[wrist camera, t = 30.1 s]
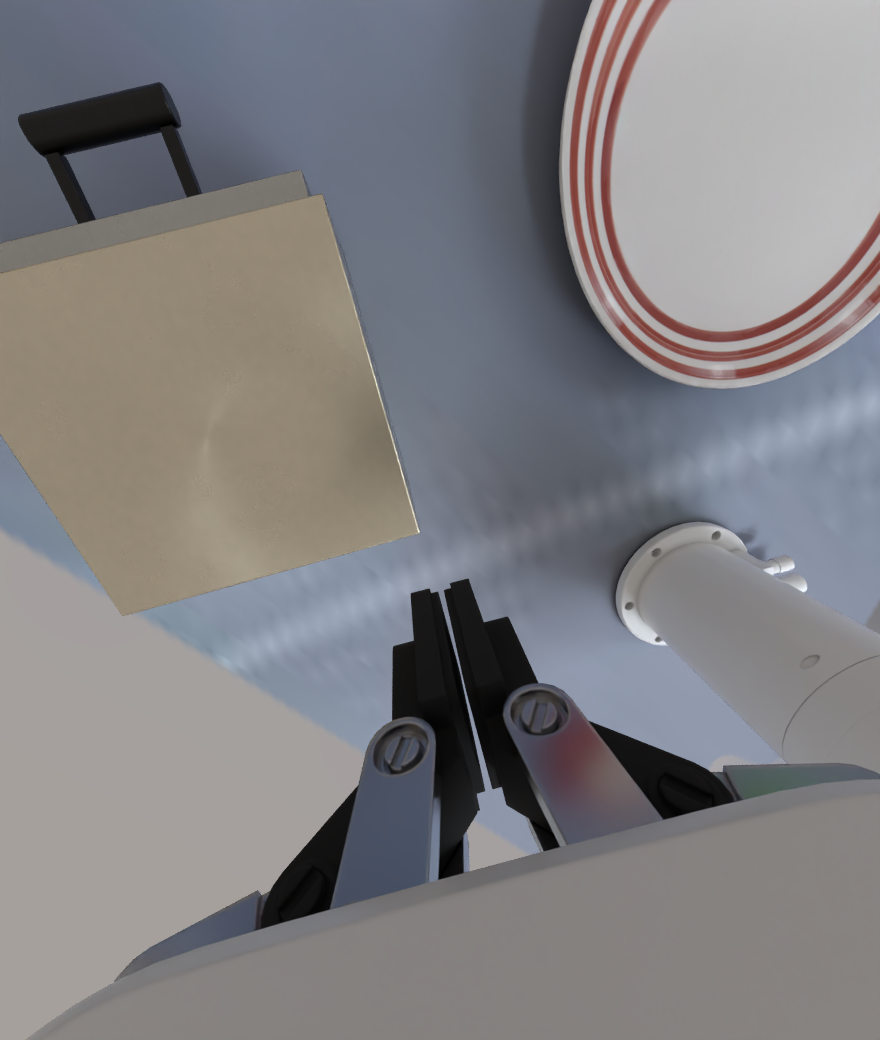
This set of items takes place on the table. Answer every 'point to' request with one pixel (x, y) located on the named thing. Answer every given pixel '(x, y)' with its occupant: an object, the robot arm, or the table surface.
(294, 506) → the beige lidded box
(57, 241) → the handled box
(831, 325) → the dinner plate
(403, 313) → the table surface
